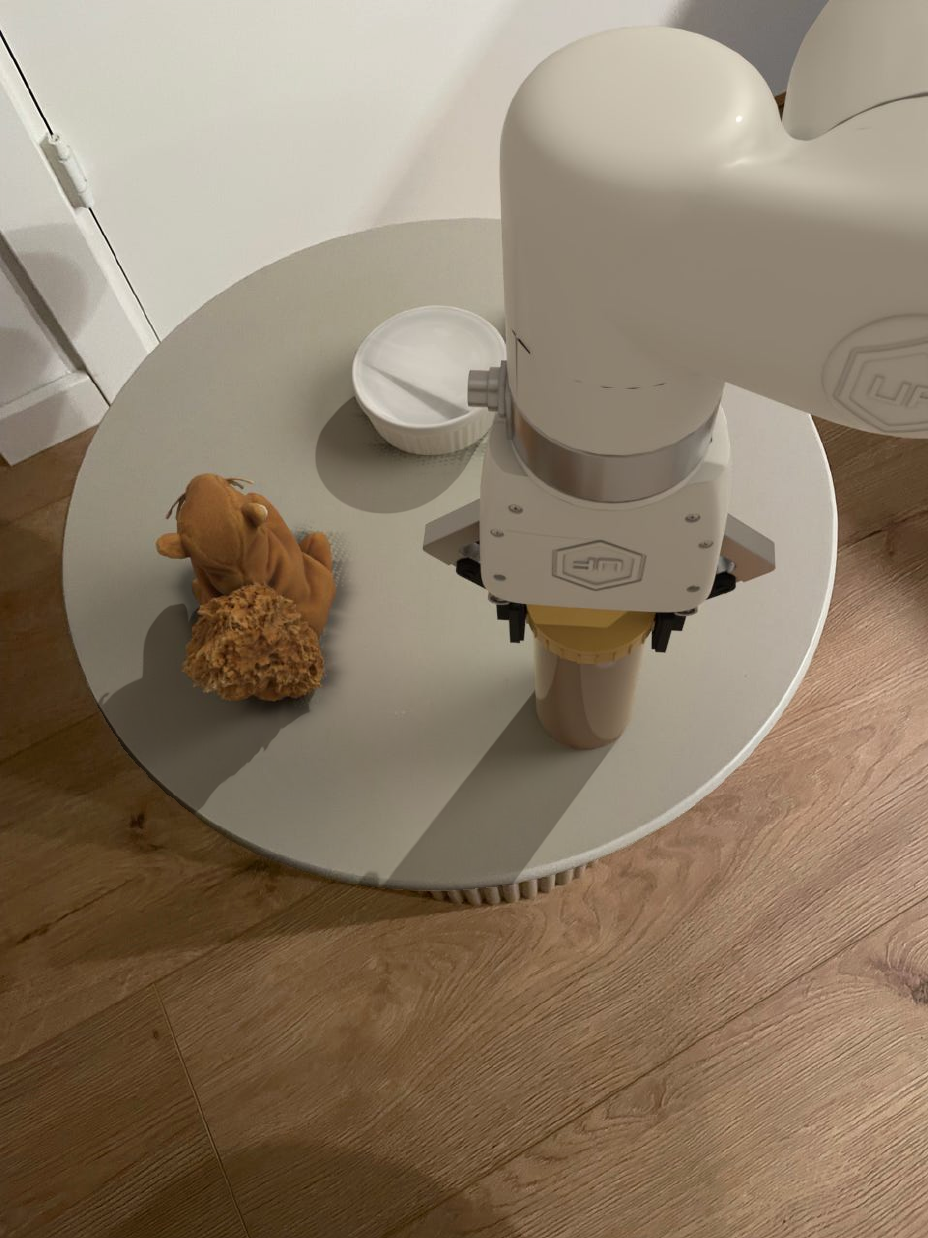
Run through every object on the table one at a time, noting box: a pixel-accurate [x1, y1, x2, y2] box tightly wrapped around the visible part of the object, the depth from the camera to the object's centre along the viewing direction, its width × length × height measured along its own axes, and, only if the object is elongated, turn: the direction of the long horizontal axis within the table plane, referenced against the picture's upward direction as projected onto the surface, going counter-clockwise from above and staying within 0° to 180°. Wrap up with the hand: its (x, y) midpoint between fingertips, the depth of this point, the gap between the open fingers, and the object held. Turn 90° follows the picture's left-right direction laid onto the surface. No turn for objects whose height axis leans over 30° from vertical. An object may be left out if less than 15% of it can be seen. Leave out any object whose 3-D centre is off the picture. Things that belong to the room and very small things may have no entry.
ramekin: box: [350, 304, 507, 456], centre depth 72 cm, size 11×11×5 cm
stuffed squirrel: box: [155, 472, 337, 702], centre depth 61 cm, size 10×14×13 cm
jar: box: [531, 631, 646, 750], centre depth 56 cm, size 6×6×15 cm
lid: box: [525, 604, 657, 665], centre depth 50 cm, size 7×7×1 cm
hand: (588, 621), depth 52 cm, fingers closed on lid, 6 cm apart
